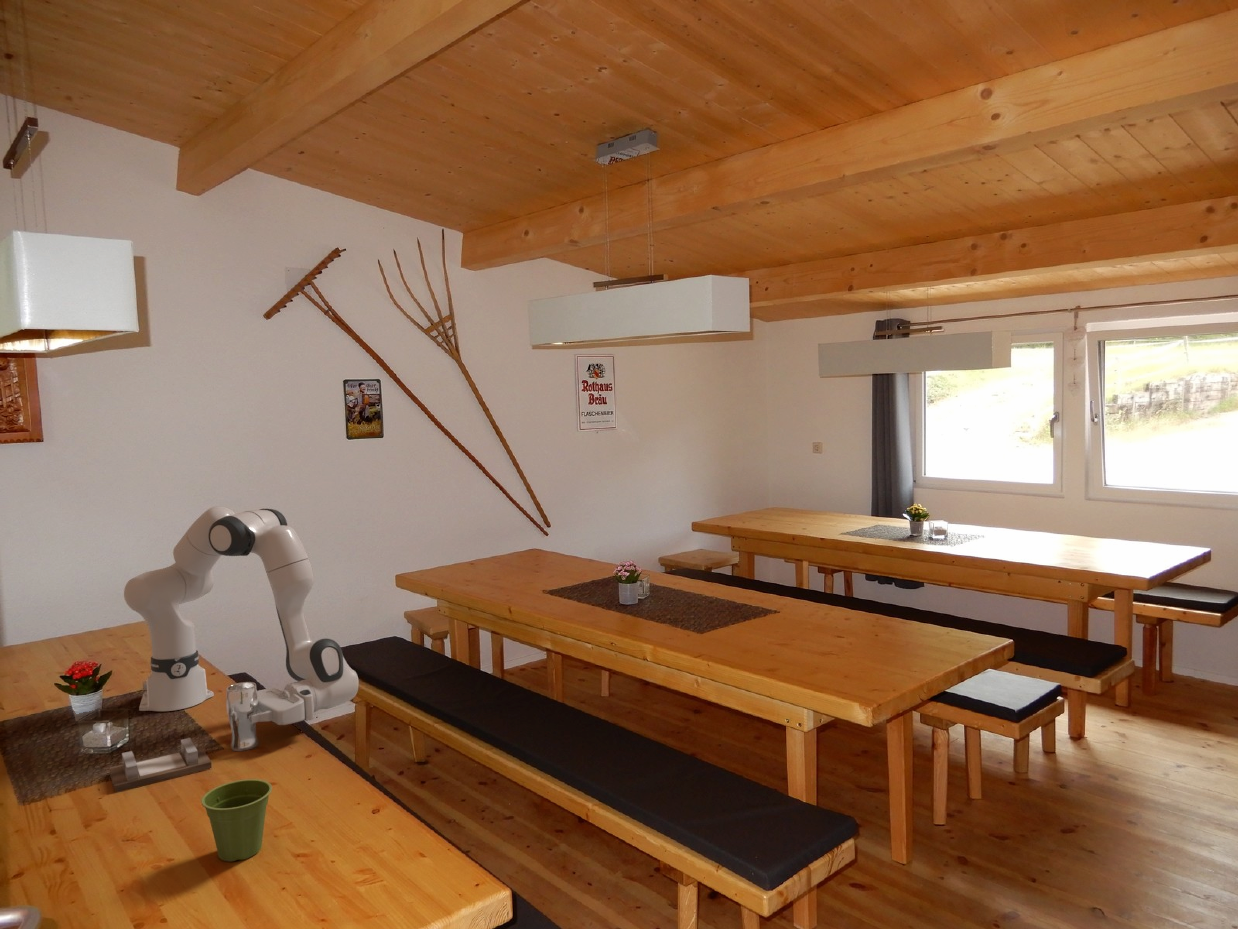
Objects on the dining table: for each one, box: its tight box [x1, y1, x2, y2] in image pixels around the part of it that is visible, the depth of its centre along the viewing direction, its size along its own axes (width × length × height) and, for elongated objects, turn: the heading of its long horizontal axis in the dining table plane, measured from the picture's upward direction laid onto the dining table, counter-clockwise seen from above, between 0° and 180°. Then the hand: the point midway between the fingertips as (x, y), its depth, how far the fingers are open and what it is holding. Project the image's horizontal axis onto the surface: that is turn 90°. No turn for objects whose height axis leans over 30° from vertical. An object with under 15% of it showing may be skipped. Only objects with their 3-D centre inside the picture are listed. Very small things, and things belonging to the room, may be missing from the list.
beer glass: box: [226, 681, 259, 752], centre depth 201 cm, size 7×7×15 cm
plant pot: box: [200, 778, 273, 862], centre depth 152 cm, size 12×12×11 cm
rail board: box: [108, 737, 212, 793], centre depth 188 cm, size 12×19×4 cm, turn 126°
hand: (242, 714), depth 201 cm, fingers open, 8 cm apart
